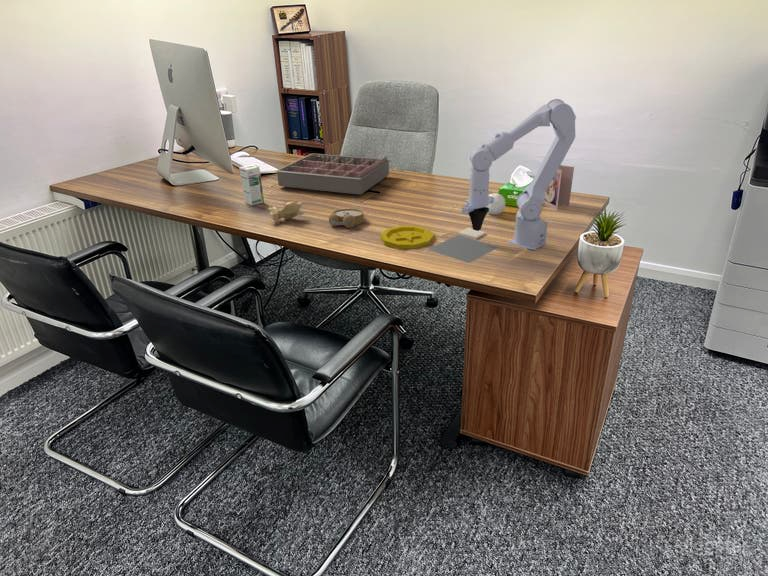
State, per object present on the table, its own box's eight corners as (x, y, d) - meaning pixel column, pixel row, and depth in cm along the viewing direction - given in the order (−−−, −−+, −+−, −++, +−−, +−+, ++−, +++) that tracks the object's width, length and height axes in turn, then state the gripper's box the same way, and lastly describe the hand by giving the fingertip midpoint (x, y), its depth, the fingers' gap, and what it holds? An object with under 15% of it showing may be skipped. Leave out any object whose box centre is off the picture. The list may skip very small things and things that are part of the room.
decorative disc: (412, 255, 174) (412, 249, 173) (370, 241, 184) (370, 236, 184) (443, 238, 185) (443, 233, 185) (402, 227, 196) (402, 221, 195)
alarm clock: (368, 210, 203) (352, 216, 190) (368, 223, 205) (352, 230, 191) (340, 207, 207) (322, 213, 193) (340, 220, 208) (322, 227, 195)
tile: (475, 241, 183) (485, 236, 187) (475, 237, 182) (485, 232, 186) (457, 236, 187) (468, 231, 191) (458, 232, 186) (468, 227, 190)
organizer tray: (312, 170, 265) (311, 149, 260) (391, 177, 251) (391, 155, 247) (276, 189, 239) (273, 166, 234) (361, 198, 225) (360, 174, 220)
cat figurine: (267, 203, 203) (298, 192, 202) (274, 218, 208) (305, 207, 207) (268, 216, 197) (300, 205, 197) (276, 231, 202) (307, 220, 202)
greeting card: (537, 201, 216) (542, 163, 209) (554, 199, 218) (559, 161, 211) (554, 210, 206) (559, 170, 200) (572, 208, 208) (577, 168, 202)
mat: (498, 248, 176) (499, 247, 176) (469, 264, 166) (469, 263, 166) (457, 236, 186) (457, 234, 186) (427, 250, 176) (427, 249, 176)
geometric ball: (497, 219, 207) (512, 202, 204) (491, 218, 200) (506, 201, 197) (483, 206, 209) (497, 189, 206) (476, 205, 202) (491, 187, 199)
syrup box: (251, 205, 219) (246, 169, 213) (244, 202, 223) (239, 166, 217) (264, 202, 223) (259, 166, 216) (256, 199, 226) (252, 163, 220)
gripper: (481, 180, 180) (479, 220, 186) (454, 191, 170) (452, 233, 176) (500, 184, 175) (497, 225, 181) (473, 195, 166) (471, 238, 172)
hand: (476, 229), depth 179 cm, fingers closed
